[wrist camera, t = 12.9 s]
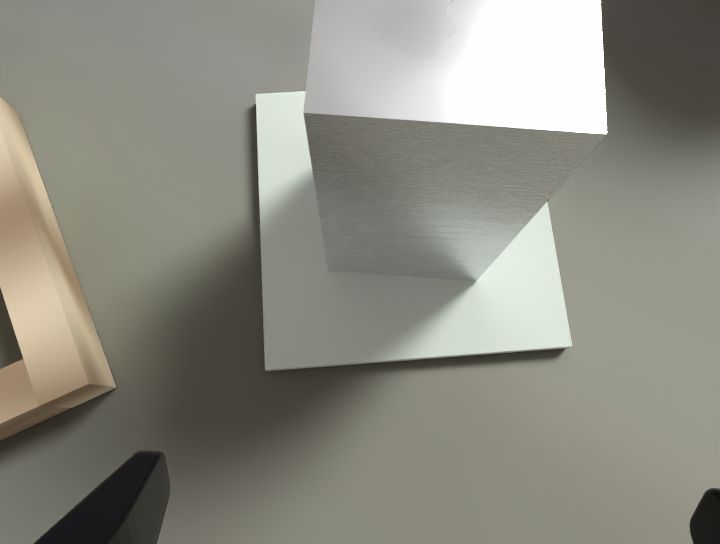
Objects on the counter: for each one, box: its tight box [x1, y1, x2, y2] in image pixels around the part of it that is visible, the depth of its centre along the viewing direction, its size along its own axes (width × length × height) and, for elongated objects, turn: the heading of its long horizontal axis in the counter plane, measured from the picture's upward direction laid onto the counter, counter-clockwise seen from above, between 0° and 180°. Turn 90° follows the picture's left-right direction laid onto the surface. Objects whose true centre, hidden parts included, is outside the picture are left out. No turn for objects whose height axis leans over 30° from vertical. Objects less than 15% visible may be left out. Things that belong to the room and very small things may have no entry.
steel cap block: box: [303, 0, 607, 281], centre depth 15 cm, size 4×5×10 cm
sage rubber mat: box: [256, 91, 572, 371], centre depth 20 cm, size 10×10×1 cm
